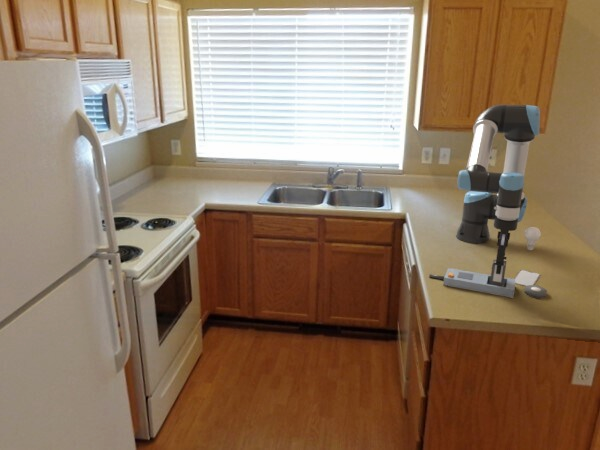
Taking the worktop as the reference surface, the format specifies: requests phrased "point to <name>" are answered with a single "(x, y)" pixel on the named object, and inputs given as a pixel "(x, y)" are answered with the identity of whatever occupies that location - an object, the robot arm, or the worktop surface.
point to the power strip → (476, 282)
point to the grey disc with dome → (535, 291)
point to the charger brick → (493, 275)
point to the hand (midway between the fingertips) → (497, 278)
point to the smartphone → (526, 278)
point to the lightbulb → (532, 237)
